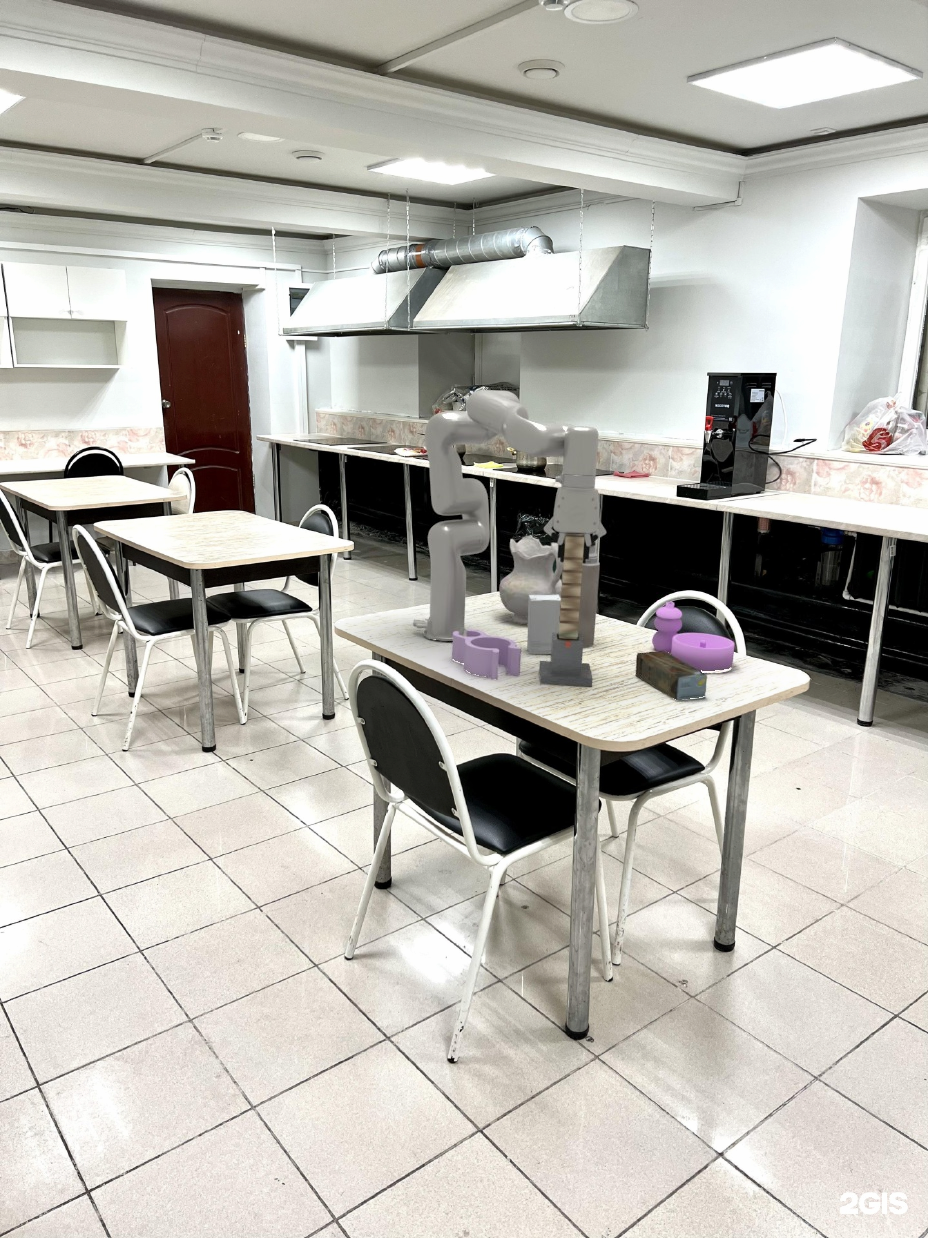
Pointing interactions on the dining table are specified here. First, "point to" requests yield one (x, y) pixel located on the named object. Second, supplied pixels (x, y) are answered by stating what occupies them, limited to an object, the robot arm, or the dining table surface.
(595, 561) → the thermos bottle
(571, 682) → the sleeve base
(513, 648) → the clip
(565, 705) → the dining table surface
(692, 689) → the beverage carton
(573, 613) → the post
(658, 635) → the container set
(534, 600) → the skincare box
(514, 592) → the ceramic pitcher
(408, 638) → the dining table surface
